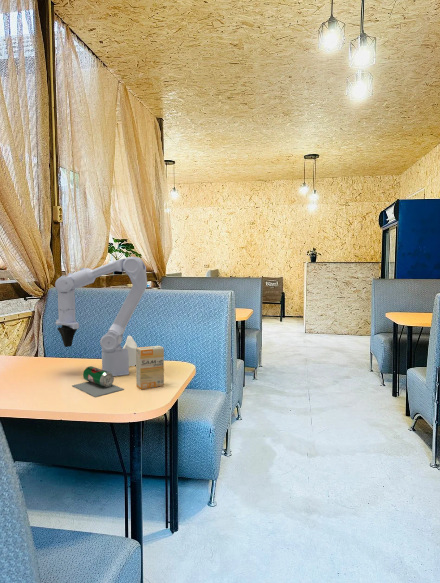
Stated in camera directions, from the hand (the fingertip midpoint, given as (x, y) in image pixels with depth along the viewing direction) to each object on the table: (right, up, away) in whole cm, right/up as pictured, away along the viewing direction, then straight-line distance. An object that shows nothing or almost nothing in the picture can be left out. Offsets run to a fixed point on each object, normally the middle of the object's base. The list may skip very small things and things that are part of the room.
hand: (67, 346), depth 145 cm
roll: (+20, -10, +14) cm, 26 cm away
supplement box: (+32, -12, -13) cm, 37 cm away
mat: (+15, -12, -15) cm, 24 cm away
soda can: (+10, -8, -8) cm, 15 cm away
